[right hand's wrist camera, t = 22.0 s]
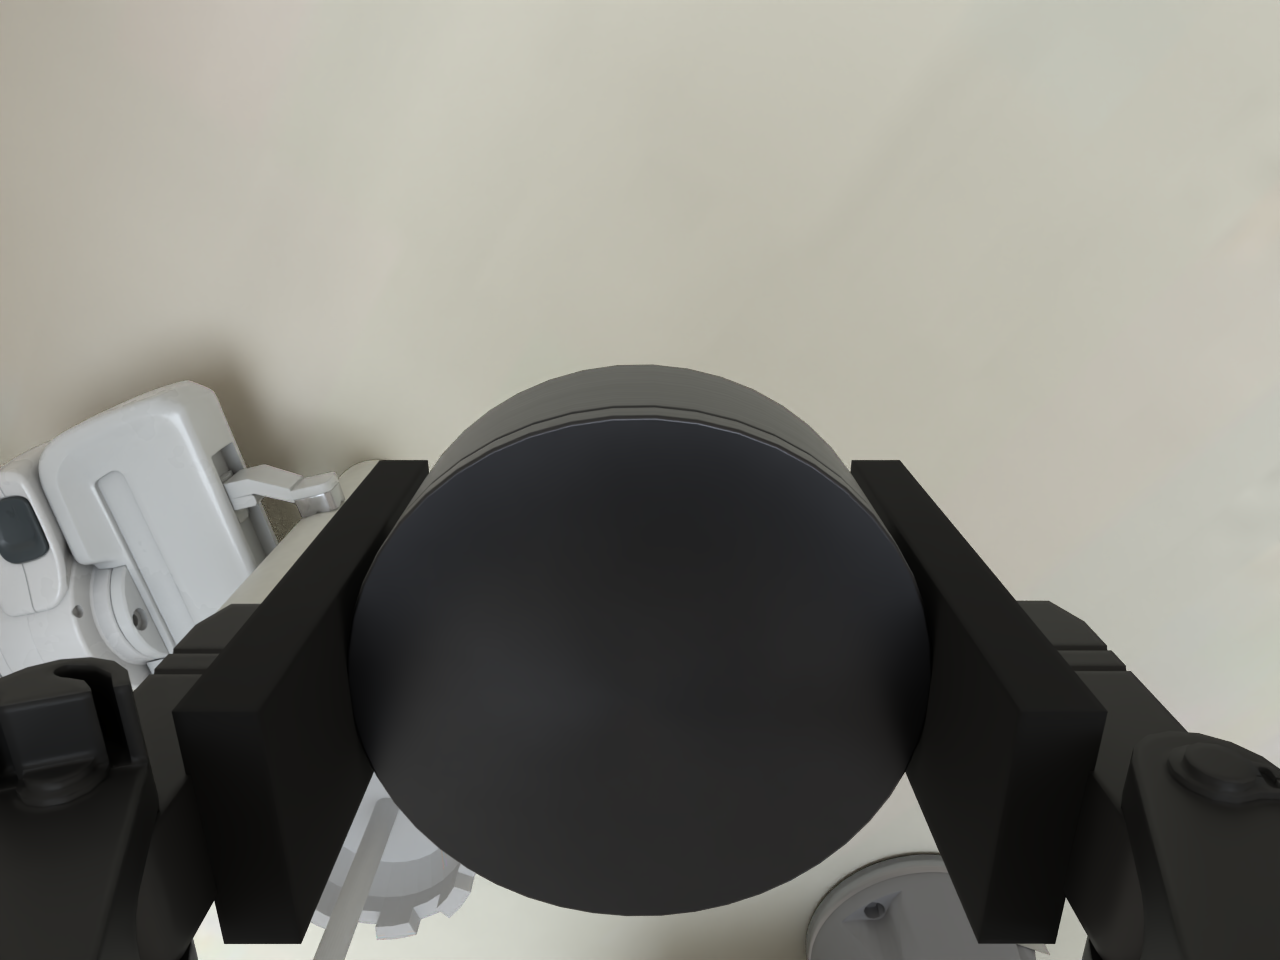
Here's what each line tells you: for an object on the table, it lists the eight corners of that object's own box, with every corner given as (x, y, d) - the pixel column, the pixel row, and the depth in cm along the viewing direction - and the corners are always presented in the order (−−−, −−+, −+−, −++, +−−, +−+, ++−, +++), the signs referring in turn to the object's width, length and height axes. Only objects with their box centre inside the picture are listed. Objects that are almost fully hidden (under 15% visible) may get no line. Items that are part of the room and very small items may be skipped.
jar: (398, 443, 49) (250, 624, 30) (448, 526, 51) (337, 745, 32) (313, 483, 50) (119, 683, 31) (365, 563, 51) (211, 798, 33)
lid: (380, 759, 13) (329, 879, 11) (420, 320, 11) (366, 362, 9) (814, 823, 14) (846, 949, 11) (943, 413, 11) (1016, 476, 9)
